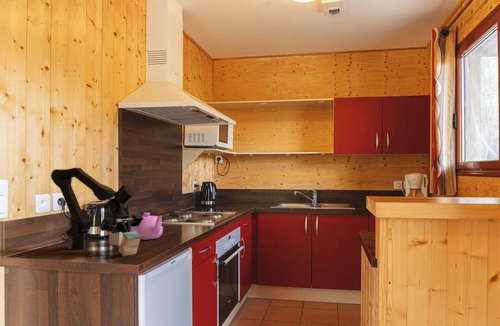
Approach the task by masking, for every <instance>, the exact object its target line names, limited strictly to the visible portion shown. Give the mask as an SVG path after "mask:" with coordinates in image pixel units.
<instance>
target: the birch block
mask: <svg viewBox="0 0 500 326" xmlns="http://www.w3.org/2000/svg"><path fill="white" fill-rule="evenodd" d="M140 238H141V236H140V235H139V234H138V233H137V232H136V231H134V232H126V233H123V237H122V240H121V244H120V246H118V247H119V248H118V252H119V253H120V255H121V256H122V257H127V256H133V255H136V254H137V251H138V248H139V245H140V241H141V239H140Z"/></svg>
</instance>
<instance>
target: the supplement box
mask: <svg viewBox="0 0 500 326" xmlns="http://www.w3.org/2000/svg"><path fill="white" fill-rule="evenodd" d="M108 236H109V238H108V239H109V241H108V242H109V245H112V246H117V247H120V244H121V240H122V237H123V233H122V232H119V233H111V232H110V231H109V235H108Z"/></svg>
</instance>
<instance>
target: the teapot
mask: <svg viewBox="0 0 500 326" xmlns="http://www.w3.org/2000/svg"><path fill="white" fill-rule="evenodd" d="M150 214H151V212H143V215H142V217H143V218H144V219H143V220H142V222H141V223H140V225H139V226H136V227H132V226H131V232H134V231H136V232H137V233H138V234H139V235H140V236H141V238H140V240H142V241H148V240H154V239H158V238H160V237H161V236H162V234H163V231H164V227H163V226H162V224H163V219H162V217H163V215H150Z"/></svg>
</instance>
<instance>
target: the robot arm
mask: <svg viewBox="0 0 500 326" xmlns="http://www.w3.org/2000/svg"><path fill="white" fill-rule="evenodd" d="M50 178H51V180H52V182H53V183H54V184H55V185H56V186H57V187H58V188H59V190H60V192H61V194H62V197H63V199H64V202H65V204H66V207H67V208H68V212H69V213H70V226H71V227H69V228H68V230H67V231H65V232H66V235H67V237H70V247H68V250H83V249H85V248H86V247H87V245H85V235H87V234H88V233H89V231H90V229H91V227H92V220H91V217H90V215H89V213H86V214H85V213H84V212H83V210H82V209H81V206H80V203H79V201H78V199H77V197H76V194H75V191H74V190H73V185H72V181H73V178H75V179H77V180H78V181H79V182H81V183H82V184H83V185H84V186H86V187H87V188H88V189H89V190H91V191H92V193H93V196H95V198H96V199H97V200H99V201H101V202H103V201H107V202H104V204H103V206H102V209H105V210H108V211H109V213H110V215H109V217H104V218H103V219H102V221H101V223H100V225H99V230H100V231H101V232H104V231H106V232H109V233H110V232H111V233H119V232H122V233H126V232H131V226H132V227H136V226H139V225H140V223H141V222H142V220H143V219H144V218H143V217H142V216H143V215H142V214H134V215H133V216H132V217H130V218H129V214H128V213H126V208H125V207H123V206H122V204H123V205H125V204H126V203H128V202H129V201H130V200H131V199H132V198H133V197H134V196H135V192H134V191H133V189H131V188H130V187H128V186H127V185H122V186H121V187H120V188H118V190H117V191H116V190H114V189H113V188H112V187H110V186H108V185H106V184H103V183H100V182H99V181H98V180H96V179H94V178H93V177H92V176H91V175H90V174H88V173H87V172H86V171H84V170H83V169H82V168H81V167H71V168H67V169H66V168H65V169H62V168H60V169H59V168H57V169H53V170H52V171H51V174H50Z"/></svg>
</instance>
